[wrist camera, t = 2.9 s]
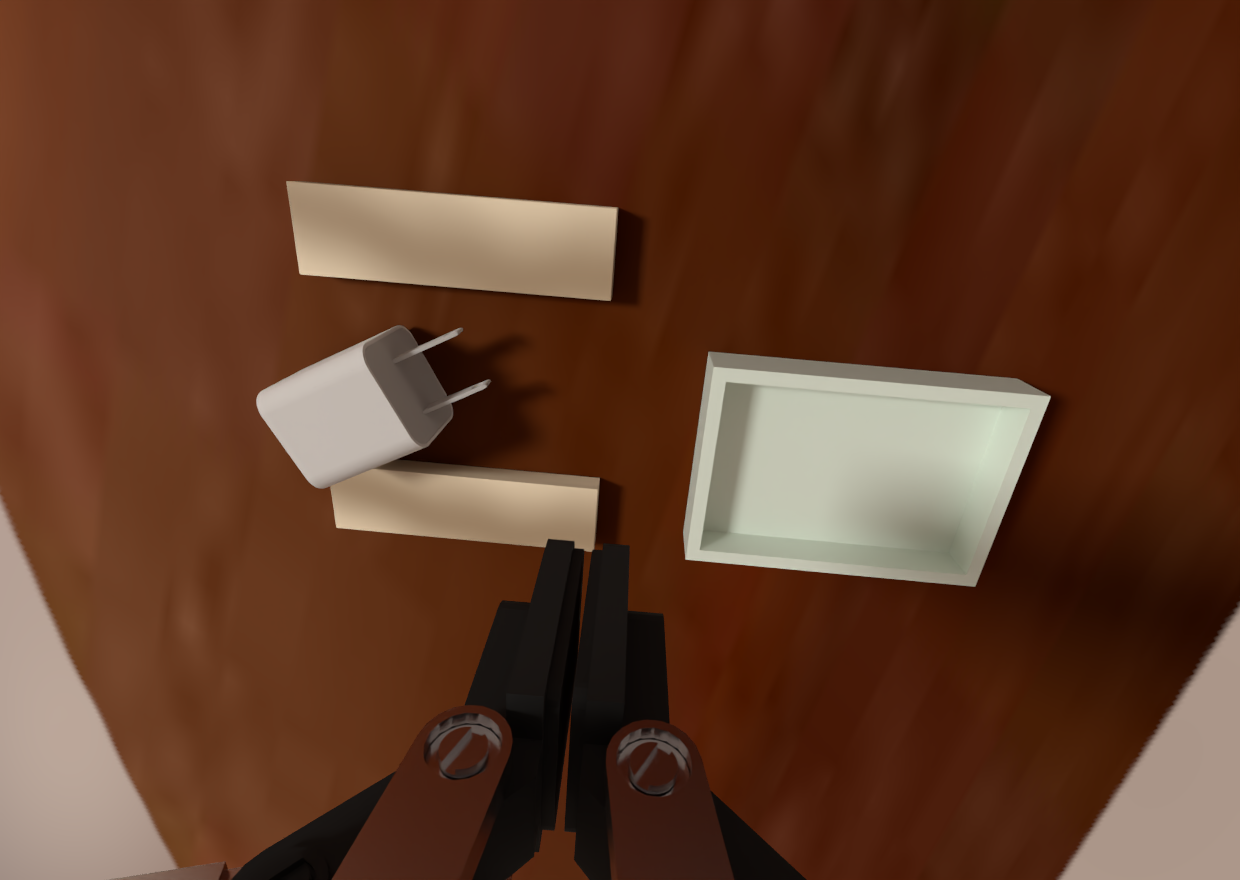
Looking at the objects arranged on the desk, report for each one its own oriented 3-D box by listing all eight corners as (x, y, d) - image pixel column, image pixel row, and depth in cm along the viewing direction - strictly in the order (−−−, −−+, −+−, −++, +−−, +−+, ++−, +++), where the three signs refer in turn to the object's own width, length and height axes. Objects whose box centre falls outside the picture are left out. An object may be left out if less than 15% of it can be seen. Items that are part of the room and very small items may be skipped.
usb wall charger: (313, 363, 23) (248, 397, 19) (463, 294, 21) (424, 316, 18) (368, 449, 24) (318, 495, 21) (513, 388, 23) (487, 427, 19)
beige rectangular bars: (303, 181, 20) (286, 181, 19) (618, 207, 20) (616, 208, 19) (347, 515, 26) (336, 527, 25) (595, 538, 25) (593, 551, 24)
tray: (708, 351, 22) (713, 367, 20) (1017, 378, 22) (1050, 396, 20) (683, 531, 25) (685, 559, 23) (951, 557, 25) (975, 586, 23)
